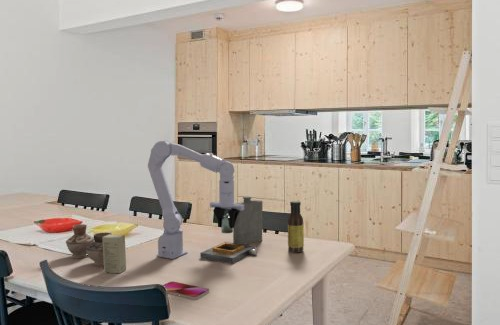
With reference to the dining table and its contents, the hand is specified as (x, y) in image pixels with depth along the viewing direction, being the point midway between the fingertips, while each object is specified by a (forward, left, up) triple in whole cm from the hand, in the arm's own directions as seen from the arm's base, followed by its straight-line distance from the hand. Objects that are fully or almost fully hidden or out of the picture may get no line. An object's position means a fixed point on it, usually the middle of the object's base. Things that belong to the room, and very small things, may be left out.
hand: (226, 227), depth 158 cm
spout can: (0, 0, -2) cm, 2 cm away
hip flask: (+18, +1, -11) cm, 21 cm away
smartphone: (-39, -8, -11) cm, 41 cm away
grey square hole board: (-1, -3, -10) cm, 11 cm away
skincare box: (-36, +23, -11) cm, 44 cm away
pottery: (-31, +40, -11) cm, 51 cm away
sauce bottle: (+16, -22, -11) cm, 30 cm away
